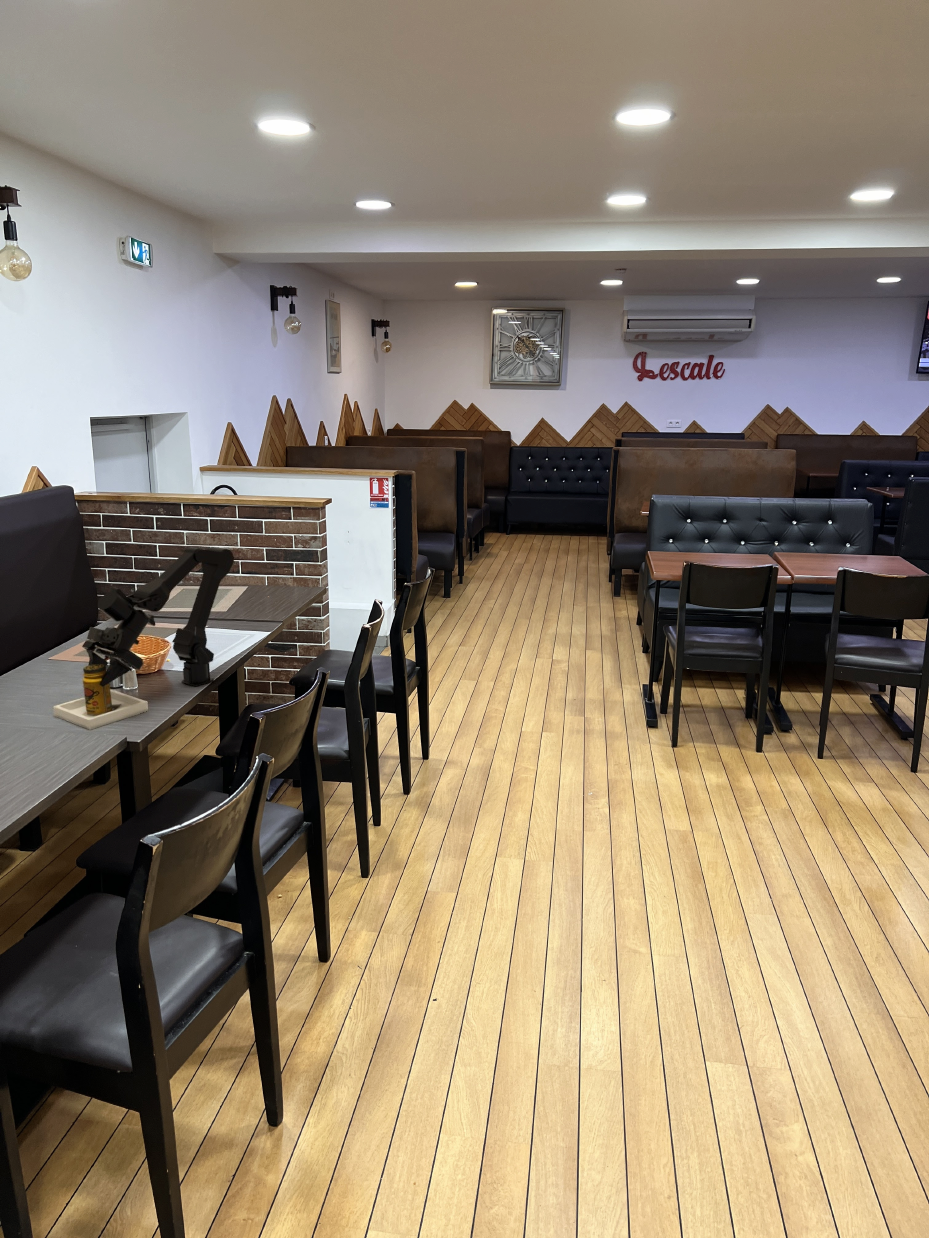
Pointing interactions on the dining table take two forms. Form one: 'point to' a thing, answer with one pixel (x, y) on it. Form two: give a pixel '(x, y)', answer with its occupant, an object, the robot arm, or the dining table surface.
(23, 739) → the dining table surface
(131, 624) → the robot arm
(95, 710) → the condiment
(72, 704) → the tray
